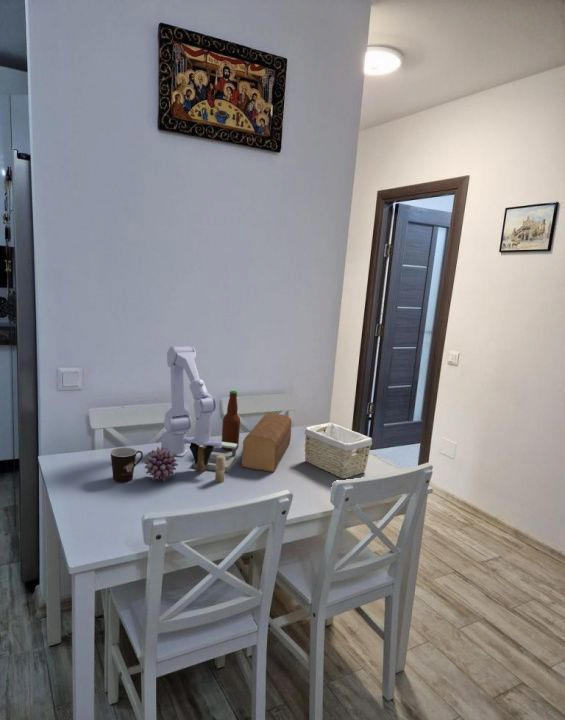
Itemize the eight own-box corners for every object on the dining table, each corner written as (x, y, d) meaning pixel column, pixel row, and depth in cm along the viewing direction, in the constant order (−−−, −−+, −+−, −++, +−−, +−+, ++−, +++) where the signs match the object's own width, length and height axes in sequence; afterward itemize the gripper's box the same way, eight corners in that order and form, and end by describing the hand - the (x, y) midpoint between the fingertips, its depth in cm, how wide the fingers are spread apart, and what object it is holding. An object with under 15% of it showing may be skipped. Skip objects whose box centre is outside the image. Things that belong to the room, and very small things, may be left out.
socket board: (192, 467, 184) (193, 450, 183) (203, 455, 196) (204, 439, 195) (228, 472, 182) (229, 455, 181) (236, 459, 195) (237, 443, 193)
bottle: (237, 445, 211) (241, 389, 207) (238, 451, 204) (242, 394, 200) (221, 444, 210) (224, 388, 206) (221, 450, 203) (225, 393, 199)
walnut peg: (195, 471, 180) (196, 448, 178) (198, 468, 183) (199, 446, 181) (203, 472, 179) (205, 450, 178) (206, 469, 183) (207, 447, 181)
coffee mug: (111, 485, 163) (112, 457, 161) (108, 475, 171) (108, 448, 169) (146, 481, 169) (147, 454, 167) (141, 471, 176) (142, 445, 174)
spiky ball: (175, 487, 166) (176, 454, 164) (139, 485, 165) (140, 452, 163) (179, 473, 177) (181, 442, 175) (146, 471, 176) (147, 441, 174)
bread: (290, 444, 218) (293, 414, 215) (274, 473, 185) (277, 438, 182) (260, 440, 220) (263, 410, 218) (239, 468, 187) (242, 433, 185)
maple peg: (214, 481, 173) (215, 458, 171) (216, 478, 176) (218, 454, 174) (222, 483, 172) (224, 459, 171) (225, 479, 176) (226, 456, 174)
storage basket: (300, 460, 200) (303, 426, 197) (327, 453, 211) (330, 421, 208) (342, 482, 182) (346, 445, 180) (370, 473, 193) (374, 438, 190)
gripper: (180, 429, 175) (179, 464, 178) (219, 434, 173) (216, 470, 176) (187, 423, 182) (185, 457, 185) (224, 428, 180) (222, 463, 183)
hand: (201, 463), depth 181 cm, fingers open, 3 cm apart
